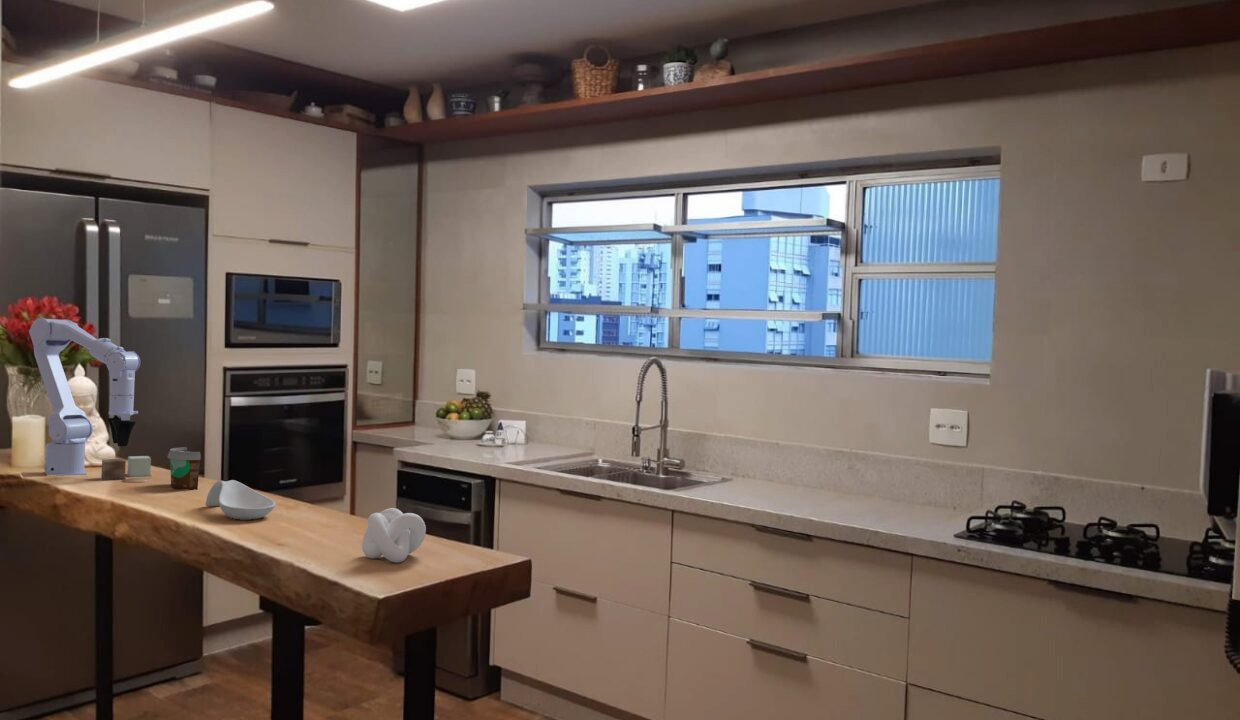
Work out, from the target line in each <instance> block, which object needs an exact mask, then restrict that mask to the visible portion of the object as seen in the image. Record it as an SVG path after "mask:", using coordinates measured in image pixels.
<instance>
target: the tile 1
mask: <svg viewBox="0 0 1240 720" xmlns="http://www.w3.org/2000/svg"><path fill="white" fill-rule="evenodd" d="M125 479H127V478H126V477H125ZM99 480H100V481H101V482H108V481H109V482H110V481H113V480H103V479H102V478H101V477H99Z"/></svg>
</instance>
